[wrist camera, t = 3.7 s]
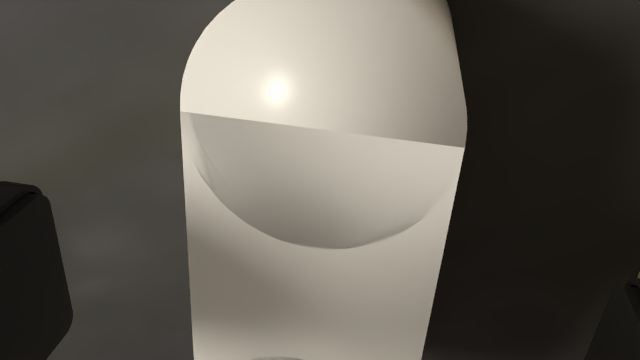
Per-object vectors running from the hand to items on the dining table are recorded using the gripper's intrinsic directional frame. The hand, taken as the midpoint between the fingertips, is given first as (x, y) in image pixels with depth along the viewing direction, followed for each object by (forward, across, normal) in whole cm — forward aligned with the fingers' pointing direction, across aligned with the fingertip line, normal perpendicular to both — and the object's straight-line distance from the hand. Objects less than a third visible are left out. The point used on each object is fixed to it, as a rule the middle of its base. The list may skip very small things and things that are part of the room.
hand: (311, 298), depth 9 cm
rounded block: (+6, 0, +1) cm, 6 cm away
